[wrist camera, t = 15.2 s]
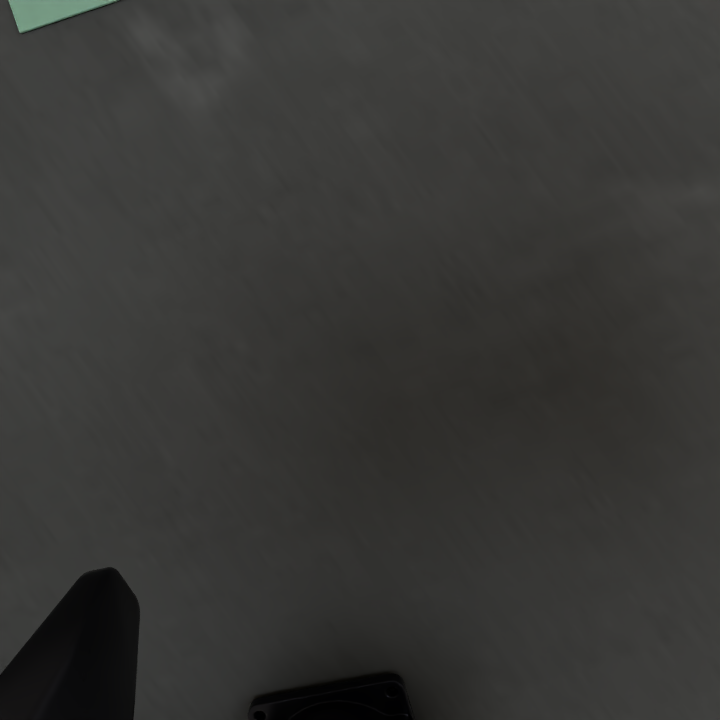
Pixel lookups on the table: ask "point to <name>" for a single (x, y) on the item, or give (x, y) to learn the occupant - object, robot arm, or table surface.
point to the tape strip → (49, 11)
